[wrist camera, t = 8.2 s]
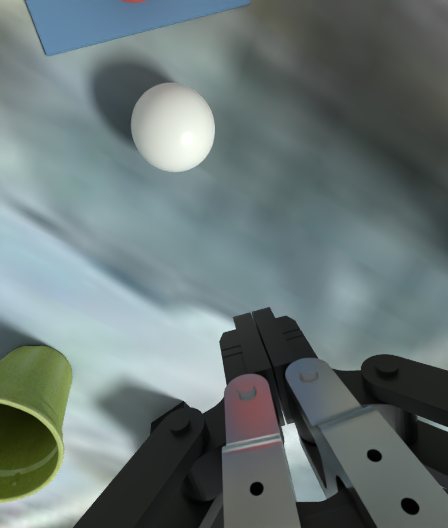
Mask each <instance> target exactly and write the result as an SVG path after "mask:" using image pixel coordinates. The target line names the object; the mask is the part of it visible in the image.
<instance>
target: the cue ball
mask: <svg viewBox="0 0 448 528" xmlns="http://www.w3.org/2000/svg"><path fill="white" fill-rule="evenodd" d="M131 132H132V137H133V140H134V143H135V145H136V147H137V149H138V151H139V152H140V154H141V155H142V156H143V157H144V158H145V159H146V160H147V161H148V162H149V163H150V164H152V165H153V166H155V167H157V168H159V169H161V170H164V171H169V172H182V171H186V170H189V169H191V168H193V167H195V166H197V165H198V164H199V163H201V162H202V161H203V160H204V159H205V157H206V156H207V155H208V153H209V151H210V149H211V147H212V144H213V141H214V135H215V124H214V118H213V115H212V112H211V110H210V108H209V106H208V104H207V102H206V101H205V100H204V99H203V97H202V96H201V95H200V94H199V93H197V92H196V91H195V90H193V89H192V88H190V87H188V86H186V85H183V84H179V83H162V84H159V85H156V86H154V87H152V88H150V89H149V90H147V91H146V92H145V93H144V94H143V95H142V96H141V97H140V98H139V100H138V101H137V103H136V105H135V107H134V110H133V113H132V117H131Z"/></svg>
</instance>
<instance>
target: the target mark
mask: <svg viewBox="0 0 448 528" xmlns="http://www.w3.org/2000/svg"><path fill="white" fill-rule="evenodd" d="M26 3H27V5H28V8H29V11H30V13H31V16H32V18H33V21H34V24H35V26H36V29H37V31H38V34H39V37H40V39H41V42H42V44H43V47H44V50H45V52H46V55H47V56H51V55H55V54H59V53H63V52H67V51H71V50H74V49H78V48H82V47H86V46H90V45H94V44H98V43H102V42H105V41H109V40H113V39H117V38H121V37H125V36H129V35H133V34H136V33H140V32H144V31H148V30H152V29H156V28H160V27H164V26H167V25H171V24H175V23H179V22H183V21H187V20H191V19H195V18H198V17H202V16H206V15H210V14H214V13H218V12H222V11H226V10H229V9H233V8H237V7H241V6H245V5H249V4H250V2H249V0H147V1H144V2H140V3H128V2H123V1H120V0H26Z"/></svg>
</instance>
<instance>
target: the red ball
mask: <svg viewBox="0 0 448 528" xmlns="http://www.w3.org/2000/svg"><path fill="white" fill-rule="evenodd" d="M120 1H123V2H128V3H140V2H144V1H147V0H120Z"/></svg>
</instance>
